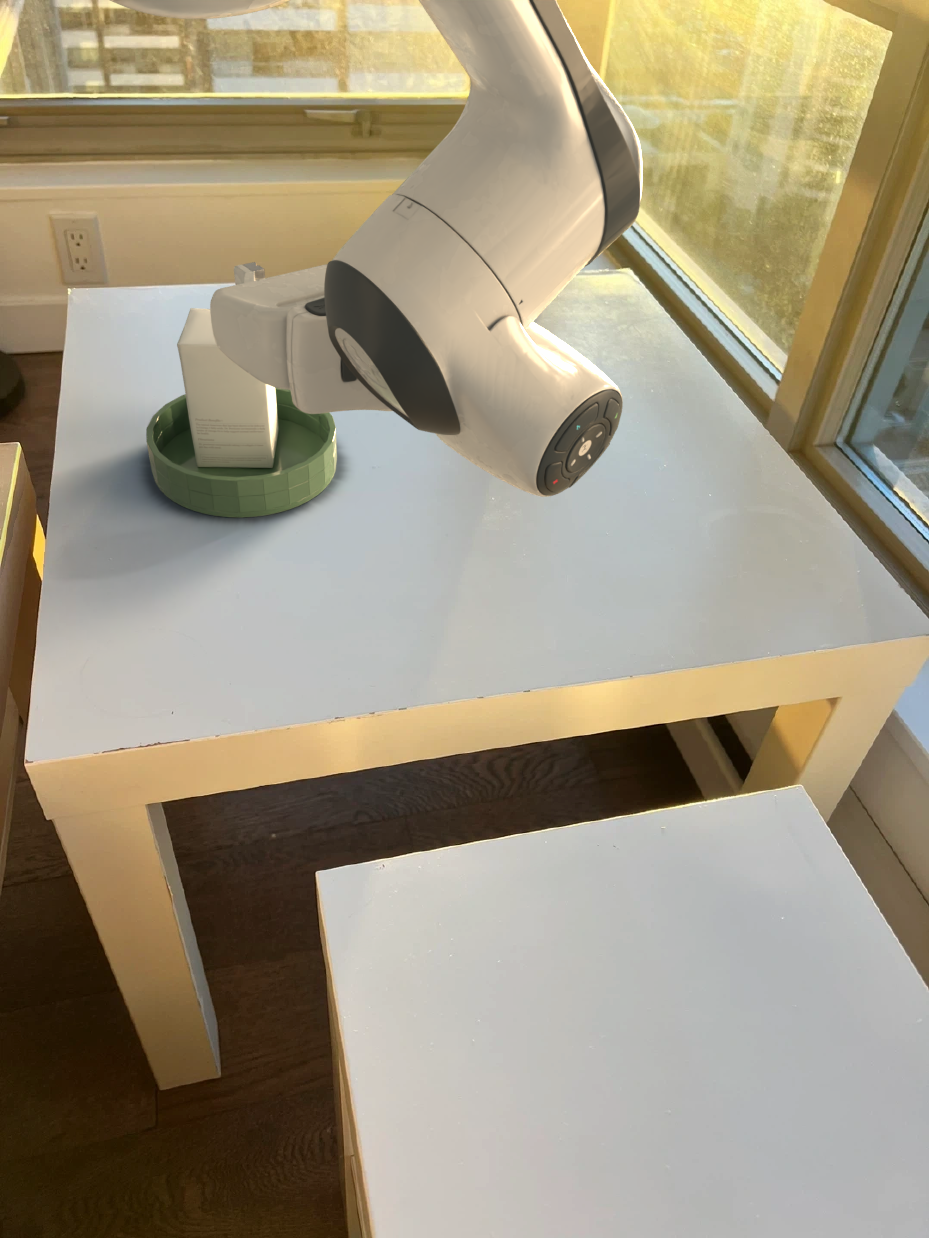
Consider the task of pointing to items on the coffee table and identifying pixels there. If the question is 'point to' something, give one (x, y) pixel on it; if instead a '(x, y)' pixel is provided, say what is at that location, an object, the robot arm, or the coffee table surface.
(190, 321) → the white packaging box
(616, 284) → the coffee table surface
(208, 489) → the bowl
